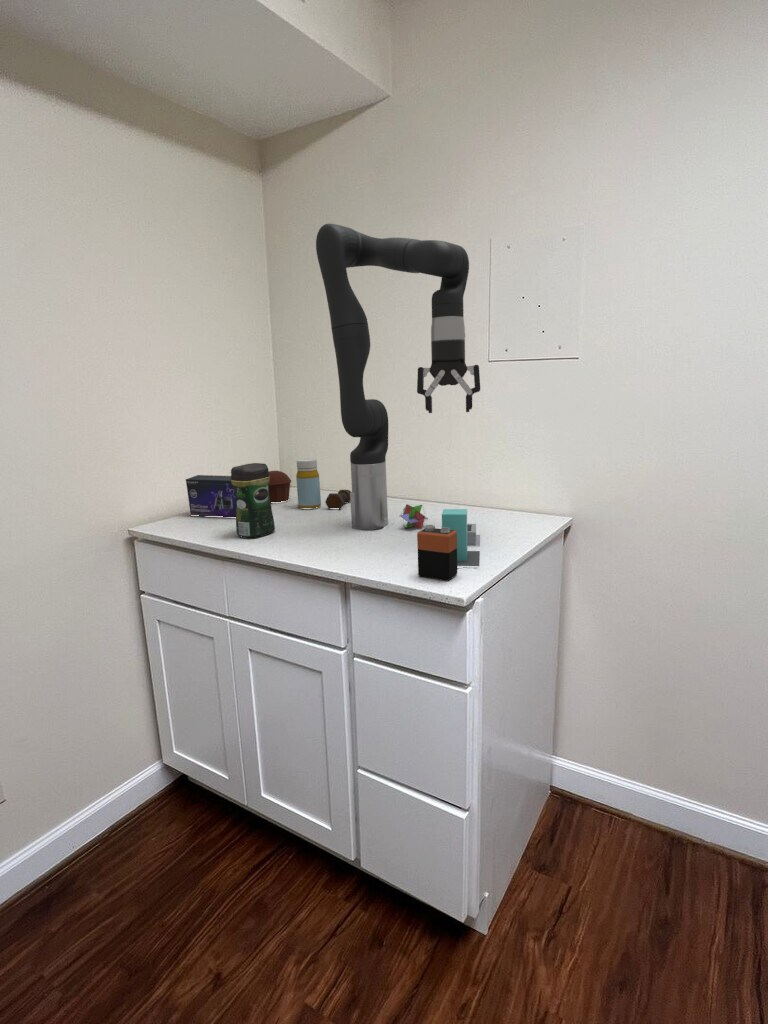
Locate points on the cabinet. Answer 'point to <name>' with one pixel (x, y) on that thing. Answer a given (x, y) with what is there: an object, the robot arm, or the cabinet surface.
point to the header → (472, 536)
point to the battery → (437, 552)
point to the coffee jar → (252, 500)
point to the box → (211, 496)
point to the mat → (470, 559)
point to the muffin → (279, 486)
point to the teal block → (457, 529)
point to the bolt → (338, 499)
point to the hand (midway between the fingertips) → (449, 412)
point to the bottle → (308, 483)
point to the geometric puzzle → (413, 516)
